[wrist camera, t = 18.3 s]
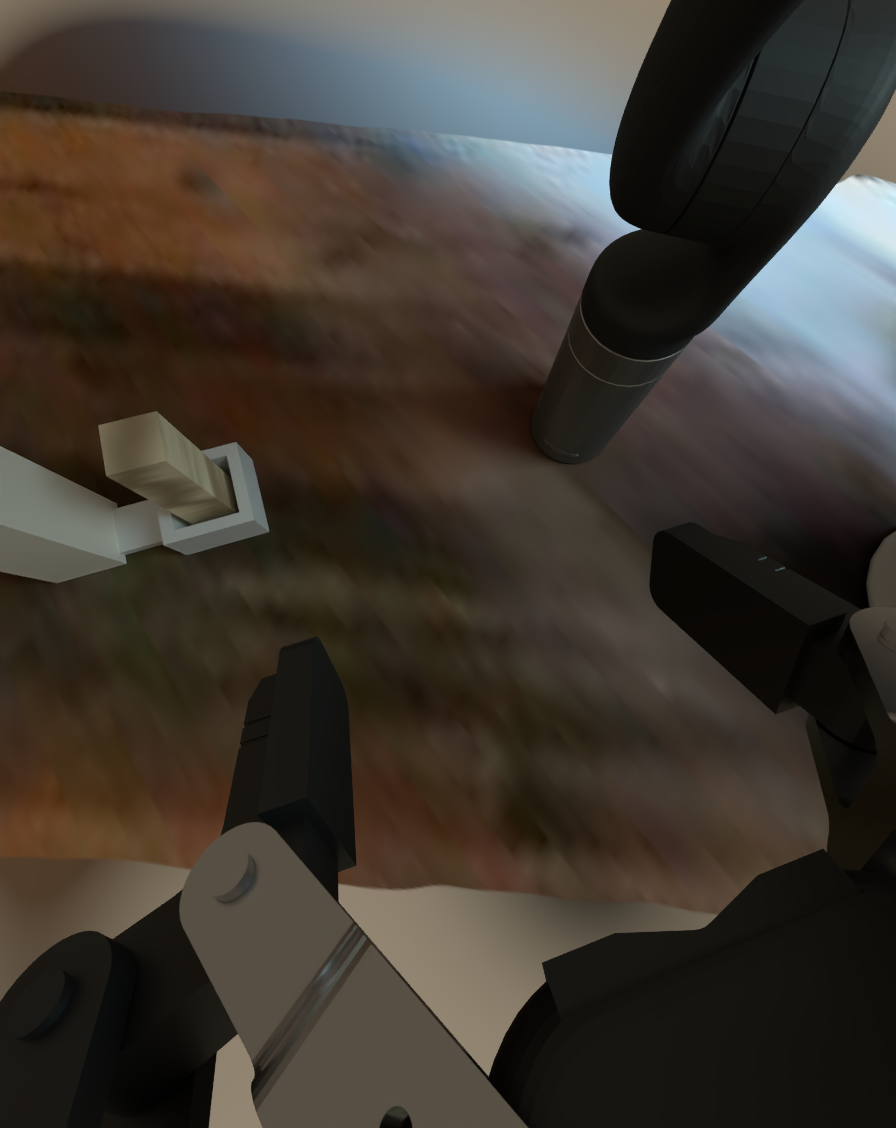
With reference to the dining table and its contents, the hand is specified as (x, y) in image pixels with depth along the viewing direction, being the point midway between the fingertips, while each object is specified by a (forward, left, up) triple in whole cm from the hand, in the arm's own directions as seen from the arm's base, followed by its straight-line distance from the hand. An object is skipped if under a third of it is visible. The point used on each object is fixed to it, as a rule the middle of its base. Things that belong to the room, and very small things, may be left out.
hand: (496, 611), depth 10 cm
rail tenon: (-2, -29, -35) cm, 45 cm away
